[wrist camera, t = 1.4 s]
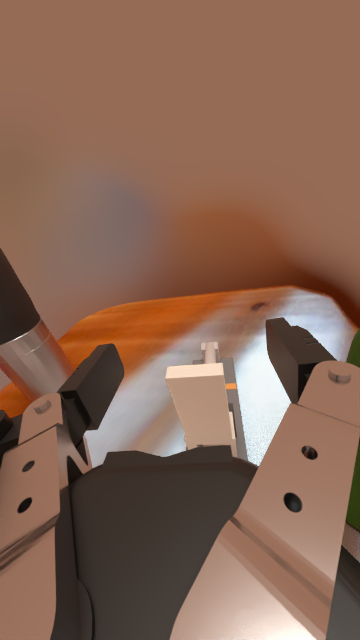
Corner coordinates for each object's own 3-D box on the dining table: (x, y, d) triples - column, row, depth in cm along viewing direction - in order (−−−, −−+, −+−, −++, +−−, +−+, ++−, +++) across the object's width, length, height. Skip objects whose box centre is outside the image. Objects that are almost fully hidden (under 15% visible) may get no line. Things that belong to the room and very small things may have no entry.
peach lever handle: (240, 464, 25) (229, 374, 17) (191, 463, 27) (159, 379, 18) (236, 429, 29) (225, 341, 21) (193, 430, 30) (167, 347, 22)
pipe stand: (253, 499, 24) (252, 476, 21) (185, 496, 26) (173, 474, 22) (232, 361, 42) (230, 338, 39) (193, 364, 44) (188, 342, 41)
